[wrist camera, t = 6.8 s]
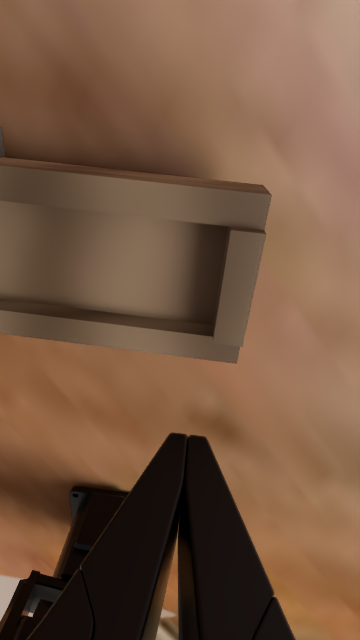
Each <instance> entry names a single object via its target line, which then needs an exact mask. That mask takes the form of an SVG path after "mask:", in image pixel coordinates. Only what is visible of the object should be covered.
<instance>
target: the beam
mask: <svg viewBox="0 0 360 640" xmlns="http://www.w3.org/2000/svg"><path fill="white" fill-rule="evenodd" d="M270 200H271V194H270V193H269V191H268V190H267V189H266V188H265V187H264V186H263V185H257V184H248V183H239V182H229V181H220V180H211V179H201V178H192V177H183V176H174V175H164V174H155V173H146V172H136V171H127V170H118V169H109V168H99V167H90V166H81V165H71V164H62V163H53V162H44V161H34V160H25V159H16V158H6V157H5V150H4V143H3V136H2V129H1V127H0V334H8V335H16V336H24V337H32V338H39V339H47V340H55V341H63V342H71V343H79V344H86V345H94V346H102V347H110V348H118V349H126V350H134V351H141V352H149V353H157V354H165V355H173V356H181V357H188V358H196V359H204V360H212V361H220V362H228V363H235V364H237V359H238V355H239V350H240V347H242V346H243V341H244V336H245V331H246V327H247V322H248V317H249V312H250V308H251V303H252V298H253V294H254V289H255V284H256V279H257V275H258V270H259V265H260V260H261V256H262V251H263V246H264V241H265V237H266V233H265V231H264V229H265V224H266V220H267V215H268V210H269V205H270Z"/></svg>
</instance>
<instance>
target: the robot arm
mask: <svg viewBox="0 0 360 640" xmlns="http://www.w3.org/2000/svg"><path fill="white" fill-rule="evenodd" d="M69 496H70V505H71V515H72V525H71V528H70V531H69V534H68V536H67V539H66V542H65V544H64V547H63V550H62V553H61V555H60V558H59V561H58V563H57V566H56V569H55V572H54V574H53V577H51V576H47V575H43V574H40V572H38V571H35V570H32V572H31V574H30V576H29V578H28V579H23V580H20V581H19V584H18V586H17V588H16V590H15V592H14V595H13V597H12V599H11V601H10V604H9V606H8V608H7V610H6V612H5V614H4V616H3V618H2V620H1V621H0V640H155V639H156V635H157V630H158V625H159V620H160V616H161V611H162V606H163V602H164V597H165V592H166V588H167V583H168V578H169V574H170V569H171V564H172V560H173V555H174V550H175V545H176V540H177V533H178V615H179V640H296V639H295V637H294V635H293V633H292V631H291V629H290V626H289V624H288V622H287V620H286V617H285V615H284V613H283V611H282V608H281V606H280V604H279V601H278V599H277V598H276V597H273V596H274V591H273V588H272V586H271V584H270V581H269V579H268V577H267V574H266V572H265V570H264V568H263V565H262V563H261V561H260V558H259V556H258V554H257V552H256V549H255V547H254V545H253V542H252V540H251V538H250V536H249V533H248V531H247V529H246V526H245V524H244V522H243V520H242V517H241V515H240V513H239V510H238V508H237V506H236V504H235V501H234V499H233V497H232V494H231V492H230V490H229V488H228V485H227V483H226V481H225V478H224V476H223V474H222V472H221V469H220V467H219V465H218V462H217V460H216V458H215V456H214V453H213V451H212V449H211V446H210V444H209V442H208V440H207V438H206V437H204V436H197V435H189V437H188V436H187V435H186V434H181V433H170V434H169V435H168V437H167V438H166V440H165V441H164V442H163V444H162V445H161V447H160V448H159V450H158V451H157V453H156V454H155V456H154V457H153V459H152V460H151V462H150V463H149V465H148V466H147V468H146V469H145V470H144V472H143V473H142V475H141V476H140V478H139V479H138V481H137V482H136V484H135V485H134V487H133V488H132V490H131V491H130V493H129V494H122V493H115V492H108V491H101V490H94V489H87V488H80V487H73V488H72V489H71V491H70V494H69ZM179 517H180V518H179ZM178 525H179V529H178ZM29 612H31V613H34V614H33V617H29V616H28V614H29Z"/></svg>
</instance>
